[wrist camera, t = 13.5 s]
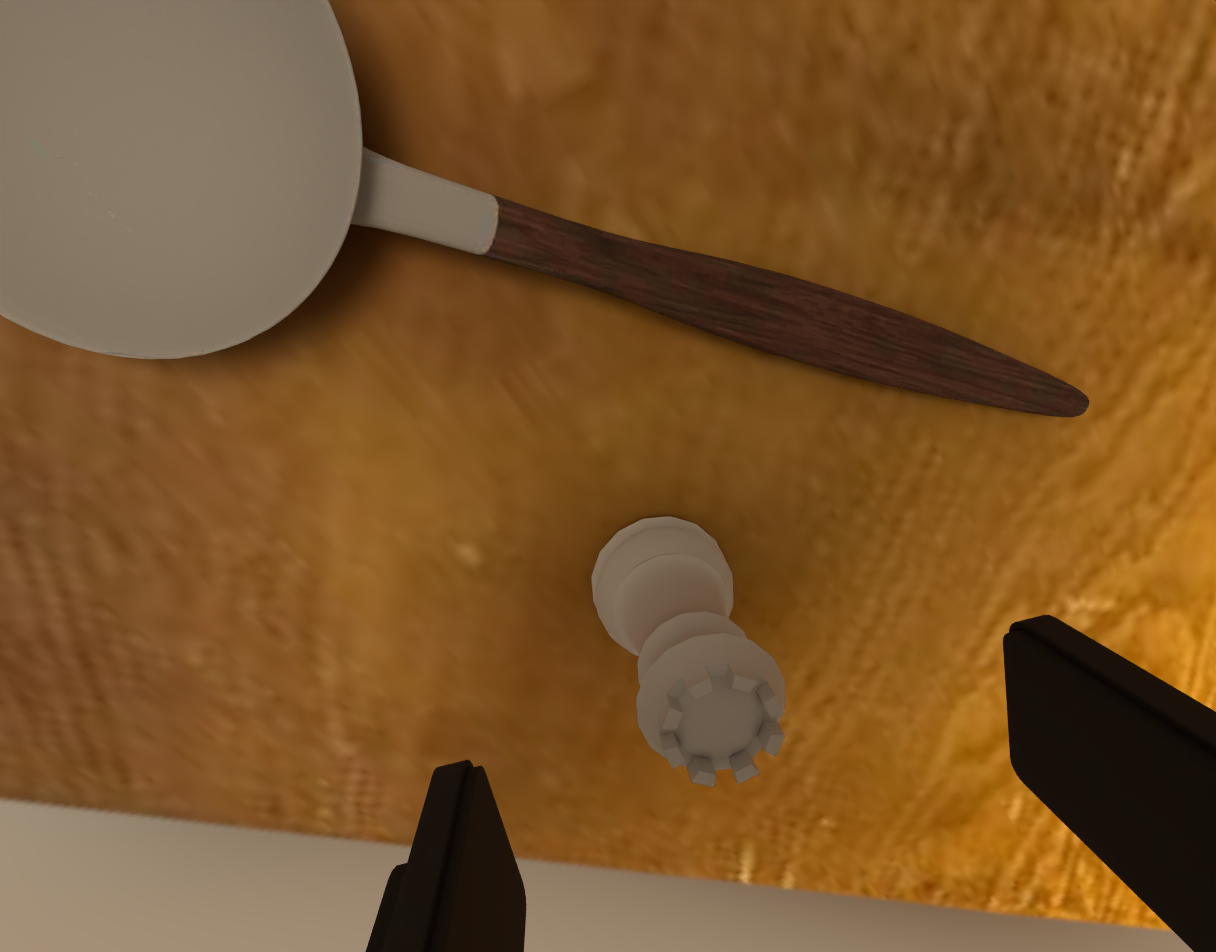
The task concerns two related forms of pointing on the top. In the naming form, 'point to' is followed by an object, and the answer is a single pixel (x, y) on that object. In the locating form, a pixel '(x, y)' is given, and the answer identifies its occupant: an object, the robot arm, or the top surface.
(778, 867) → the top surface
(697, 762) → the rook chess piece
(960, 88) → the top surface
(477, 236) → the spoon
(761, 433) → the top surface
